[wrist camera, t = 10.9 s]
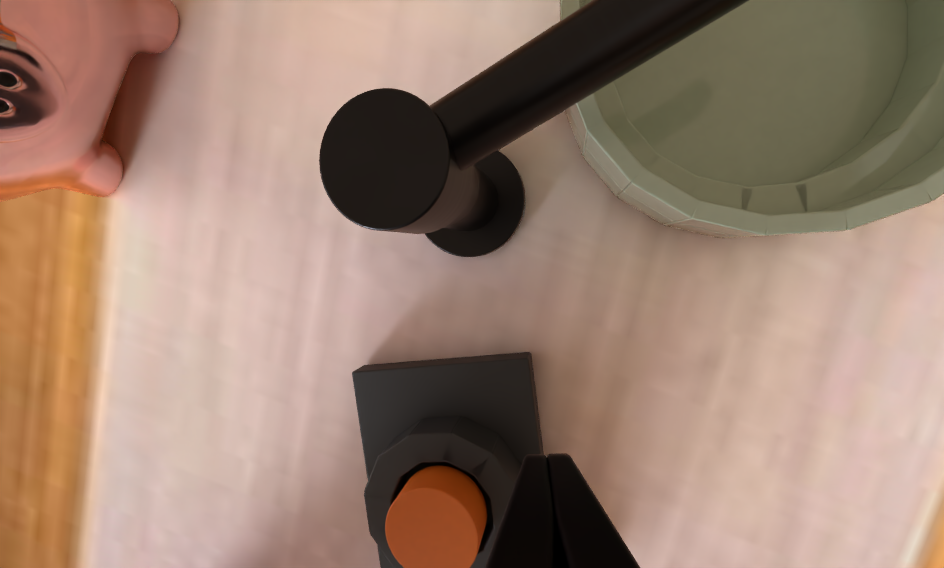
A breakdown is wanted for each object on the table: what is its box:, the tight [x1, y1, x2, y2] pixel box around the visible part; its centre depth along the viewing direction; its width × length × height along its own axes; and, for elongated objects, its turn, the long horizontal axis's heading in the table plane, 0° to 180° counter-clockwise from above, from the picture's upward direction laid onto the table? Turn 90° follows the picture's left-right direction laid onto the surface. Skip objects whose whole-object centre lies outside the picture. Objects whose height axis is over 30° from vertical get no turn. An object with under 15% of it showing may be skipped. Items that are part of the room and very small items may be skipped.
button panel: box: [352, 352, 543, 568], centre depth 19 cm, size 11×8×3 cm
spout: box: [319, 0, 749, 234], centre depth 10 cm, size 14×3×3 cm, turn 118°
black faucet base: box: [425, 151, 525, 257], centre depth 16 cm, size 5×5×6 cm
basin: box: [560, 0, 944, 238], centre depth 14 cm, size 13×13×4 cm
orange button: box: [385, 465, 487, 568], centre depth 17 cm, size 4×4×2 cm
